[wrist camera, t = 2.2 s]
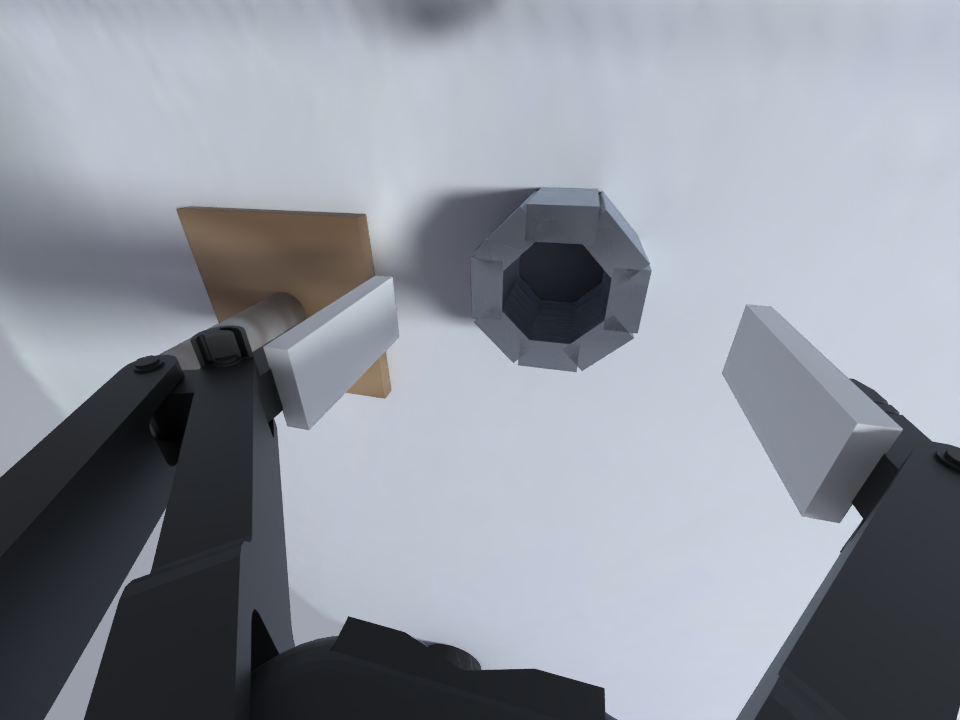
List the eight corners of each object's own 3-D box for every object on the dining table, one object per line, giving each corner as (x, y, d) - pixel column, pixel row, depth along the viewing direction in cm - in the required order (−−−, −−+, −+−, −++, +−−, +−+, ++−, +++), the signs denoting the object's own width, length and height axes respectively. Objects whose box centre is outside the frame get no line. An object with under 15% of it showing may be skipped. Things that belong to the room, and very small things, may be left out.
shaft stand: (190, 206, 24) (12, 240, 17) (365, 214, 22) (248, 258, 14) (248, 370, 31) (136, 448, 23) (391, 390, 28) (317, 486, 21)
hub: (495, 186, 20) (469, 201, 15) (648, 190, 18) (665, 208, 14) (493, 318, 23) (472, 359, 19) (620, 330, 22) (627, 378, 18)
